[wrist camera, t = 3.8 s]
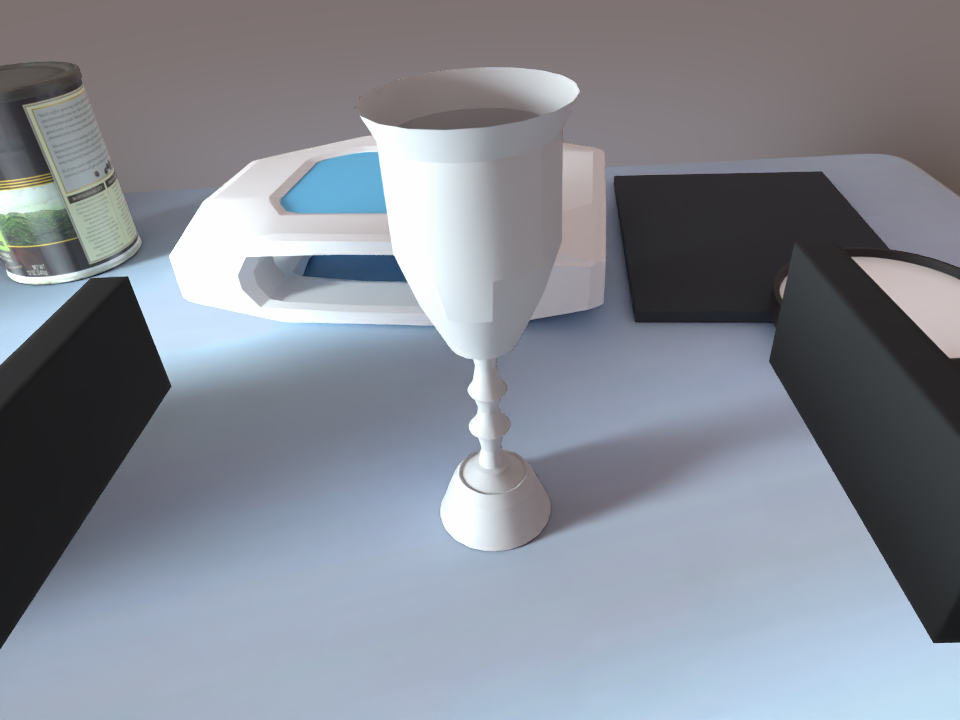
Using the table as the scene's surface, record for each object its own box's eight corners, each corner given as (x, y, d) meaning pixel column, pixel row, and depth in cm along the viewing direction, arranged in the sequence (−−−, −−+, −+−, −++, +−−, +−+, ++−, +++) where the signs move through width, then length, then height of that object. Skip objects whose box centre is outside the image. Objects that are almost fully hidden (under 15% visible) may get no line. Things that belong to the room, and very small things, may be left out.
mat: (634, 322, 43) (635, 311, 43) (613, 184, 63) (614, 175, 62) (940, 323, 41) (944, 311, 41) (819, 180, 61) (822, 171, 60)
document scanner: (296, 202, 64) (280, 135, 60) (601, 201, 59) (604, 129, 56) (185, 322, 47) (155, 237, 43) (602, 332, 42) (607, 239, 39)
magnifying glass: (845, 573, 27) (860, 538, 26) (753, 269, 46) (759, 240, 44) (1211, 606, 25) (1248, 570, 24) (957, 274, 44) (970, 244, 42)
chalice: (437, 448, 34) (388, 70, 24) (573, 455, 33) (582, 64, 23) (404, 566, 29) (321, 132, 18) (567, 579, 28) (576, 127, 17)
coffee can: (23, 300, 51) (-77, 103, 43) (-4, 258, 57) (-95, 81, 49) (161, 254, 56) (95, 71, 48) (121, 220, 63) (58, 55, 55)
